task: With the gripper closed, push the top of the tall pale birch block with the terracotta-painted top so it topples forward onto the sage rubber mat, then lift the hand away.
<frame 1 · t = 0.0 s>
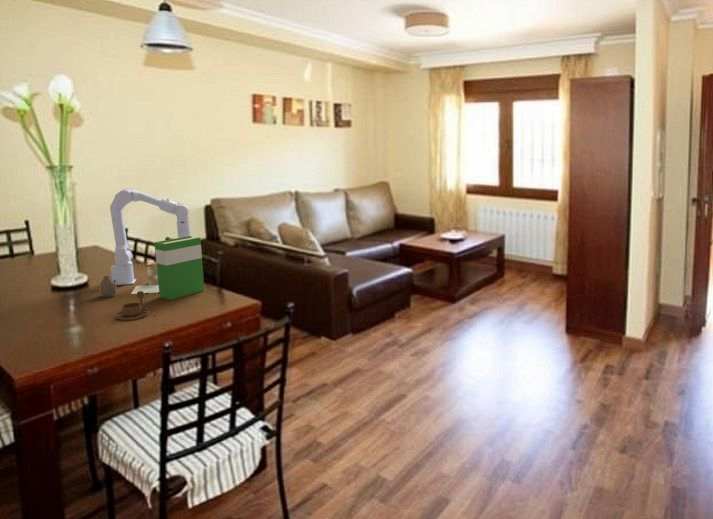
hand: (186, 258, 262), 10 cm above the table, tool pointing down, fingers open, 7 cm apart
mat: (152, 289, 246), on the table
vase: (108, 296, 237), on the table
place setting: (139, 314, 215), on the table
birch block: (155, 284, 255), on the table
hardback book: (182, 294, 239), on the table
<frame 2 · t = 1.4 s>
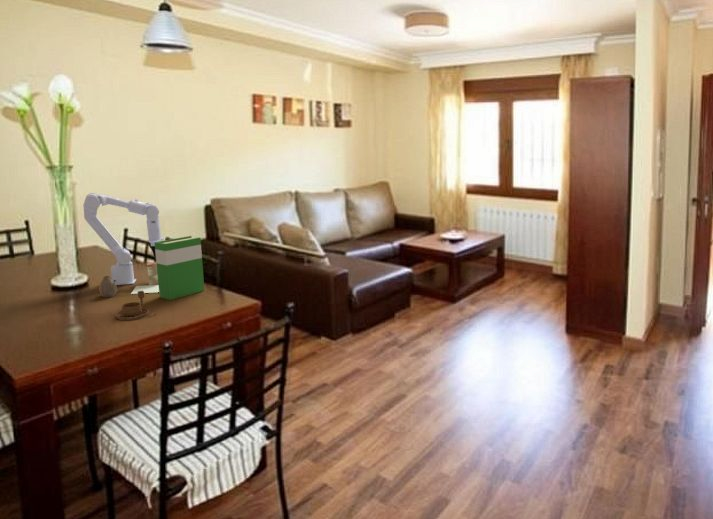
hand: (157, 258, 262), 10 cm above the table, tool pointing down, fingers closed
nothing on the table moved.
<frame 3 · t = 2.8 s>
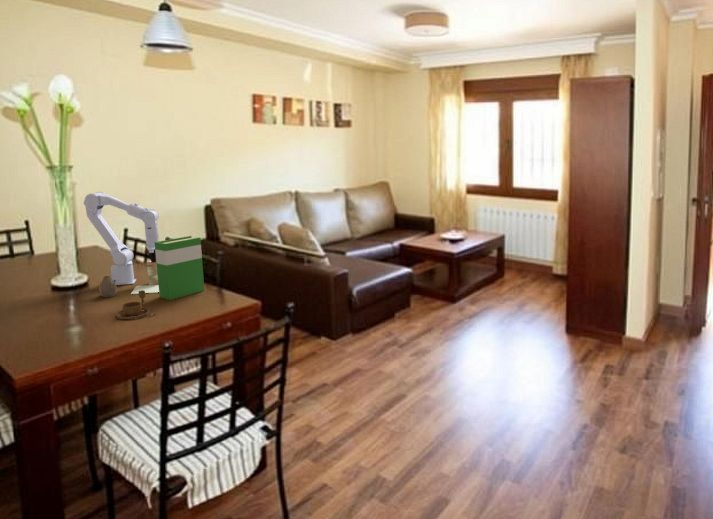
hand: (154, 264, 257), 8 cm above the table, tool pointing down, fingers closed
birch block: (155, 284, 255), on the table, touching gripper
everything else where it was.
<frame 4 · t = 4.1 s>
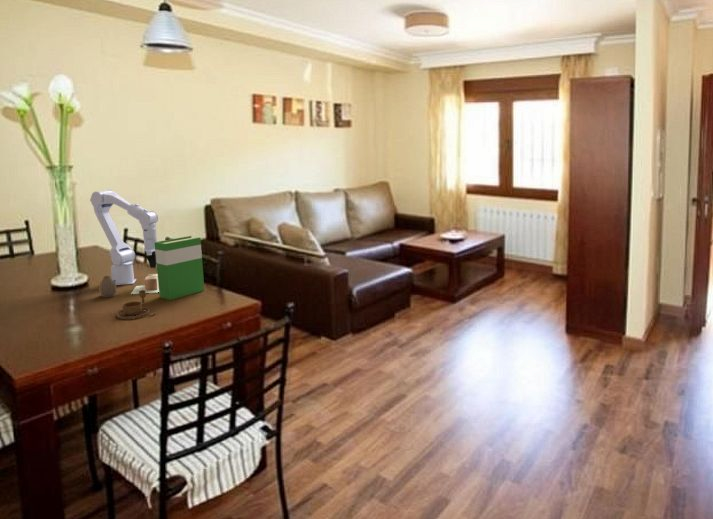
hand: (153, 267, 252), 8 cm above the table, tool pointing down, fingers closed
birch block: (154, 279, 253), point 3 cm above the table, tilted 90°, touching mat
everything else where it was.
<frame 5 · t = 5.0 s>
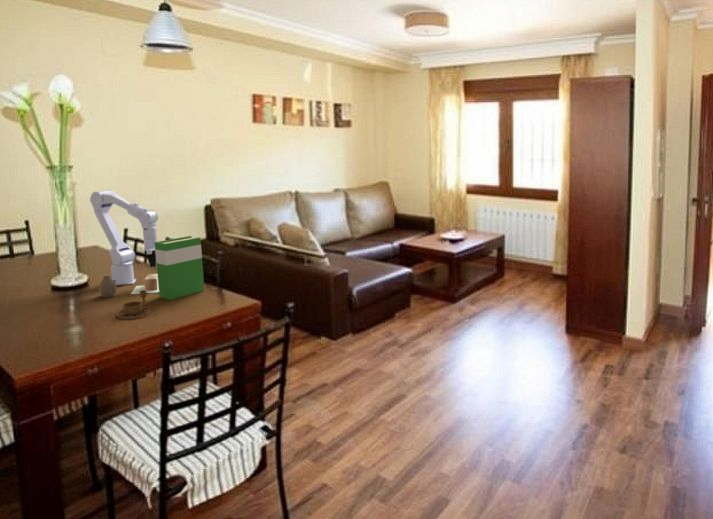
hand: (153, 266, 251), 9 cm above the table, tool pointing down, fingers closed
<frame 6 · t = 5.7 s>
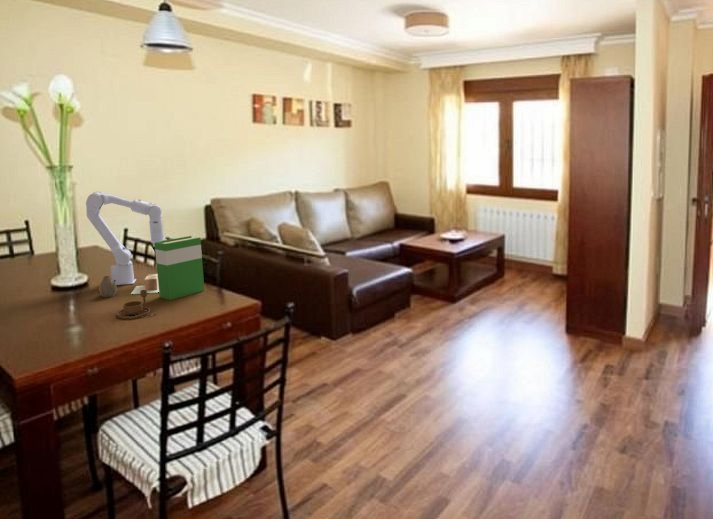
hand: (159, 258, 260), 10 cm above the table, tool pointing down, fingers closed
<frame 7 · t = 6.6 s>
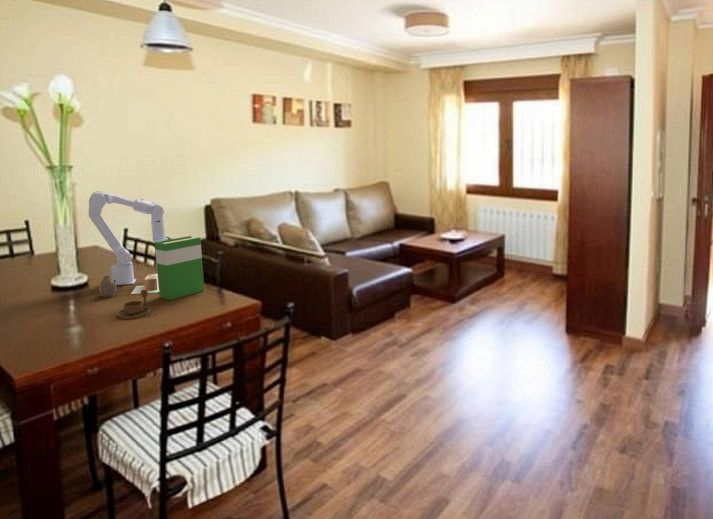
hand: (160, 257, 263), 10 cm above the table, tool pointing down, fingers closed
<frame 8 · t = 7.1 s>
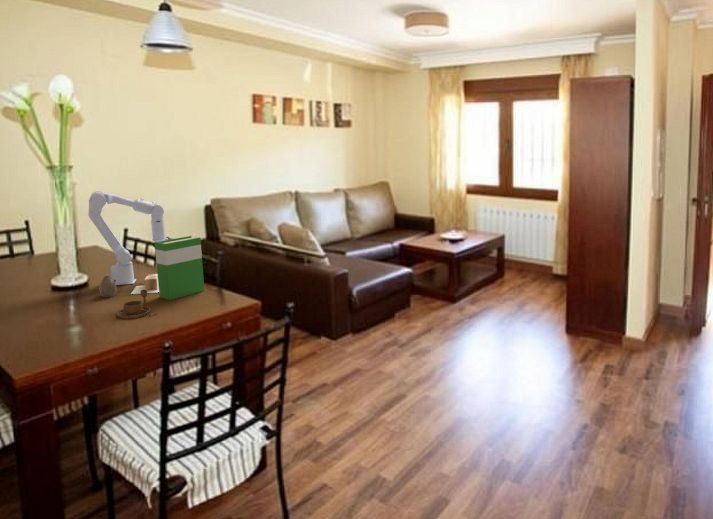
hand: (160, 257, 263), 10 cm above the table, tool pointing down, fingers closed
at the end: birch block tilted 90°; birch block inside the target area (0.4 cm from its centre), point 2.9 cm above the table; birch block touching mat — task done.
